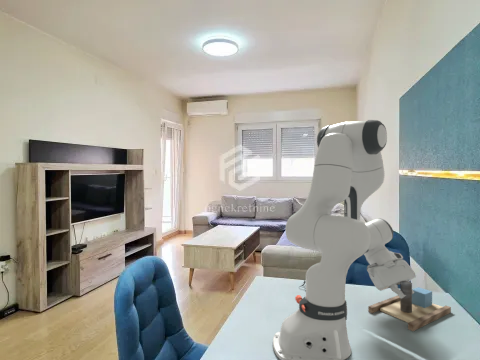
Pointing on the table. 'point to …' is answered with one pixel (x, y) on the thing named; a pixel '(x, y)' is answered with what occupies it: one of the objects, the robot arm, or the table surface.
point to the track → (418, 322)
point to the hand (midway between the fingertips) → (407, 295)
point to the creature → (304, 283)
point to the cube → (422, 297)
